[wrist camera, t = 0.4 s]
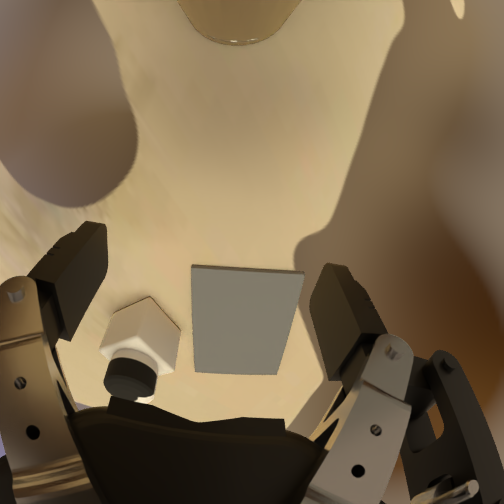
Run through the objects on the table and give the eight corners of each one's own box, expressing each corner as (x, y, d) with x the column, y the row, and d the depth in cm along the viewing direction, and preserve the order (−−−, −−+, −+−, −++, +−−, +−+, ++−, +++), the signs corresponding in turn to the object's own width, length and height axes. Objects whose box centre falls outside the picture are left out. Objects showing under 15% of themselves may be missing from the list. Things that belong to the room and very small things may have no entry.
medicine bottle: (112, 312, 36) (85, 382, 25) (150, 295, 34) (126, 372, 24) (144, 344, 39) (127, 413, 29) (182, 330, 38) (171, 406, 28)
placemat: (191, 264, 32) (191, 267, 32) (304, 271, 34) (305, 274, 33) (195, 369, 42) (195, 372, 42) (276, 371, 44) (276, 374, 43)
